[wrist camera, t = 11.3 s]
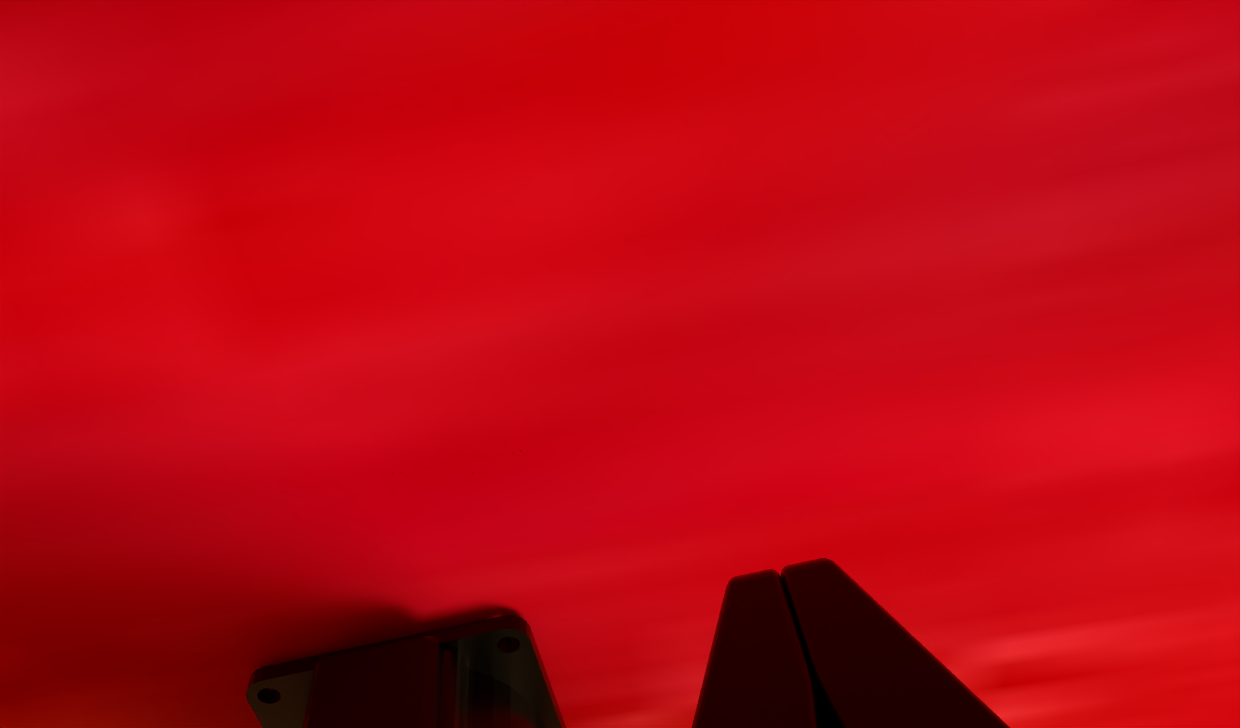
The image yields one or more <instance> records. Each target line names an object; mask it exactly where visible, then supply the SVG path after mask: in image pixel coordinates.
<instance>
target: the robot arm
mask: <svg viewBox="0 0 1240 728" xmlns="http://www.w3.org/2000/svg"><path fill="white" fill-rule="evenodd" d="M504 637H514V639H511V640H505V639H502V638H504ZM266 688H272V689H275V690H269V689H266ZM246 697H247V701H248V702H249V704H250V706H251V707H252V709H253V711H254V713H255V714H256V716H257V718H258V720H259V721H260V723H261V725H262V726H263V728H566V727H565V724H564V721H563V718H562V715H561V713H560V710H559V707H558V704H557V701H556V698H555V696H554V693H553V690H552V687H551V684H550V682H549V679H548V676H547V673H546V670H545V667H544V665H543V662H542V659H541V656H540V653H539V651H538V648H537V645H536V642H535V639H534V637H533V634H532V631H531V628H530V626H529V625H528V623H527V622H526V621H525V620H523V619H522V618H520V617H516V616H512V615H511V616H501V617H496V618H491V619H487V620H482V621H477V622H473V623H468V624H463V625H459V626H454V627H449V628H445V629H440V630H435V631H431V632H426V633H421V634H417V635H412V636H407V637H403V638H398V639H393V640H389V641H384V642H379V643H375V644H370V645H365V646H361V647H356V648H351V649H347V650H342V651H337V652H333V653H328V654H323V655H319V656H314V657H309V658H305V659H300V660H295V661H291V662H286V663H281V664H277V665H272V666H267V667H263V668H261V669H258V670H256V671H255V672H254V673H253V674H252V675H251V677H250V680H249V684H248V688H247V692H246ZM692 728H1010V727H1009V726H1008V725H1007V724H1006V723H1005V722H1004V721H1003V720H1002V719H1000V718H999V717H998V716H997V715H996V714H995V713H994V712H993V711H992V710H991V709H990V708H989V707H988V706H987V705H986V704H985V703H983V702H982V701H981V700H980V699H979V698H978V697H977V696H976V695H975V694H974V693H973V692H972V691H971V690H970V689H969V688H968V687H966V686H965V685H964V684H963V683H962V682H961V681H960V680H959V679H958V678H957V677H956V676H955V675H954V674H953V673H952V672H951V671H949V670H948V669H947V668H946V667H945V666H944V665H943V664H942V663H941V662H940V661H939V660H938V659H937V658H936V657H935V656H934V655H932V654H931V653H930V652H929V651H928V650H927V649H926V648H925V647H924V646H923V645H922V644H921V643H920V642H919V641H918V640H917V639H916V638H914V637H913V636H912V635H911V634H910V633H909V632H908V631H907V630H906V629H905V628H904V627H903V626H902V625H901V624H900V623H899V622H897V621H896V620H895V619H894V618H893V617H892V616H891V615H890V614H889V613H888V612H887V611H886V610H885V609H884V608H883V607H882V606H880V605H879V604H878V603H877V602H876V601H875V600H874V599H873V598H872V597H871V596H870V595H869V594H868V593H867V592H866V591H865V590H863V589H862V588H861V587H860V586H859V585H858V584H857V583H856V582H855V581H854V580H853V579H852V578H851V577H850V576H849V575H848V574H847V573H845V572H844V571H843V570H842V569H841V568H840V567H839V566H838V565H837V564H836V563H834V562H833V561H832V560H830V559H827V558H820V559H816V560H811V561H806V562H802V563H797V564H792V565H788V566H785V567H784V568H783V569H782V572H781V577H780V575H779V573H778V572H777V571H775V570H773V569H769V570H764V571H759V572H755V573H750V574H745V575H741V576H736V577H733V578H732V579H731V580H730V581H729V582H728V584H727V587H726V590H725V594H724V598H723V602H722V606H721V611H720V615H719V619H718V623H717V627H716V631H715V635H714V639H713V643H712V647H711V651H710V655H709V659H708V663H707V668H706V672H705V676H704V680H703V684H702V688H701V692H700V696H699V700H698V704H697V708H696V712H695V716H694V720H693V725H692Z"/></svg>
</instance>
